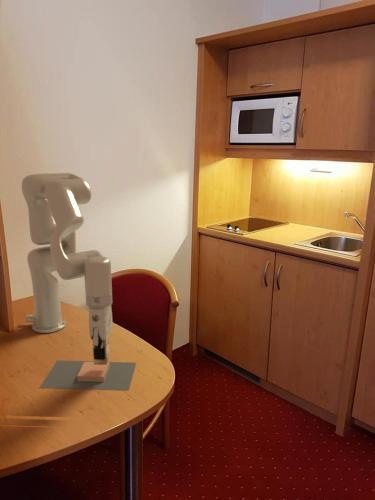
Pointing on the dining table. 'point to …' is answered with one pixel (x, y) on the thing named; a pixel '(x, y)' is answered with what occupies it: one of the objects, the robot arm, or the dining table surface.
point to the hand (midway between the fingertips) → (101, 354)
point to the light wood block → (107, 353)
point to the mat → (66, 378)
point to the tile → (93, 372)
